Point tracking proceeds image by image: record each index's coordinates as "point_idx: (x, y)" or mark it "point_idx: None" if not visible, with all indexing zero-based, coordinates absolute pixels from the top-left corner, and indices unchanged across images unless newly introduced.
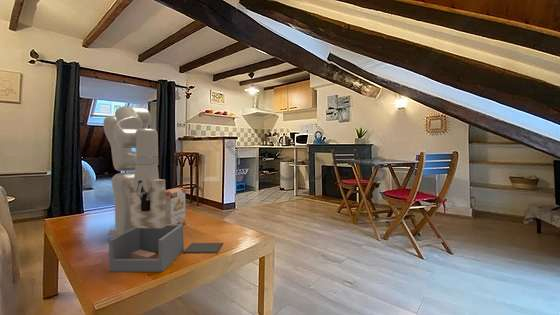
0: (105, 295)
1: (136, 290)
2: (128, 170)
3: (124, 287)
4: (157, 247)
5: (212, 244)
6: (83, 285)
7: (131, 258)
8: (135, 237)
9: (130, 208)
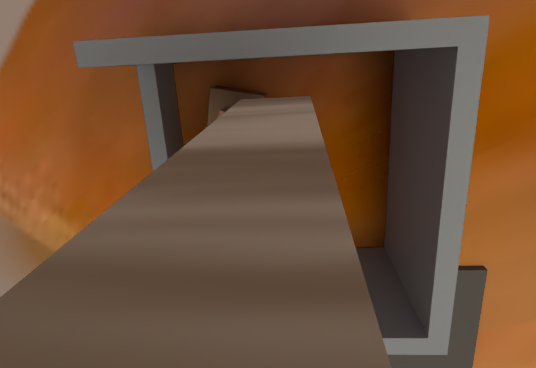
0: (3, 165)
1: (54, 243)
2: None
3: (60, 194)
4: (395, 147)
5: (452, 361)
6: (32, 24)
7: (225, 107)
8: (354, 52)
9: (195, 137)
